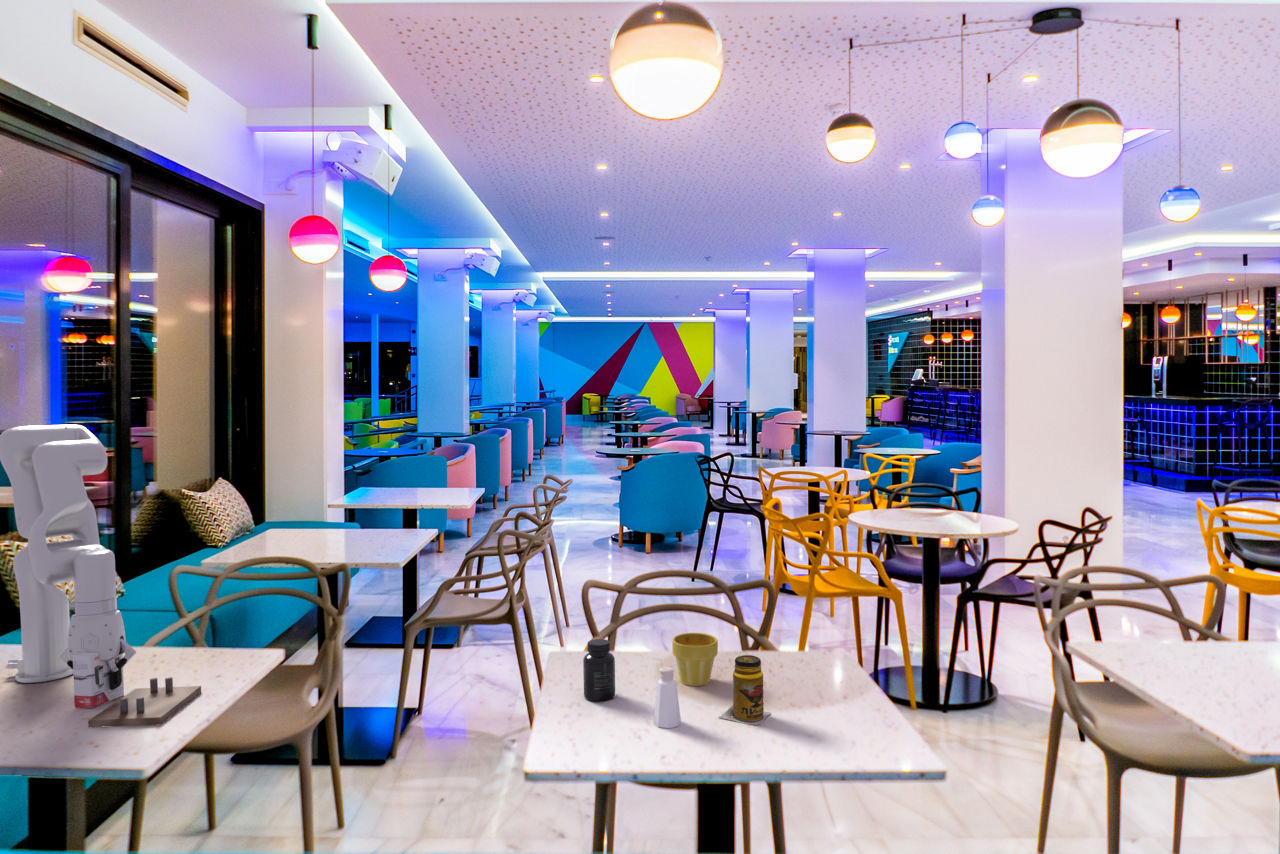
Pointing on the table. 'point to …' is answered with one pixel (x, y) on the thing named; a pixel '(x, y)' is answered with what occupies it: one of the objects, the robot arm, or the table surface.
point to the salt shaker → (667, 700)
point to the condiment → (747, 692)
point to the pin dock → (146, 705)
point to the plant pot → (695, 657)
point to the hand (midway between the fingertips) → (99, 687)
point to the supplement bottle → (599, 671)
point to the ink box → (93, 681)
